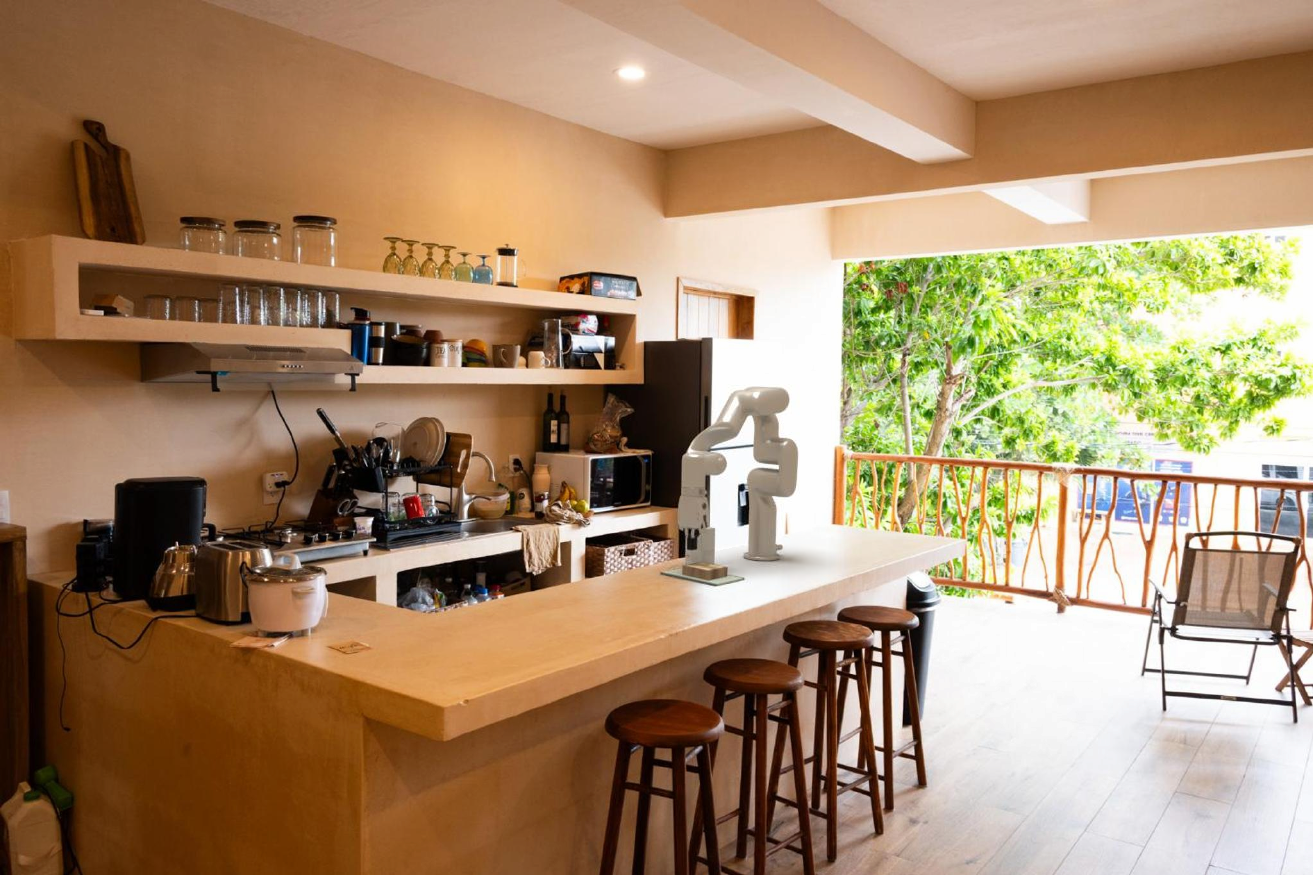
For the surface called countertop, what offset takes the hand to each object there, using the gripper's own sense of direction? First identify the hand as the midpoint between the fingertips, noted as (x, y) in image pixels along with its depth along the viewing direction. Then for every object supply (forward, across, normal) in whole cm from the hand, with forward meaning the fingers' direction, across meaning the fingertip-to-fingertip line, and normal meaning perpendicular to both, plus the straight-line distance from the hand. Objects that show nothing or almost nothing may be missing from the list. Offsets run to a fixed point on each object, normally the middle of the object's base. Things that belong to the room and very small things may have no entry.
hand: (691, 549), depth 306 cm
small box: (+8, +8, -13) cm, 17 cm away
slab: (+6, 0, 0) cm, 6 cm away
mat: (+8, -4, 0) cm, 9 cm away
